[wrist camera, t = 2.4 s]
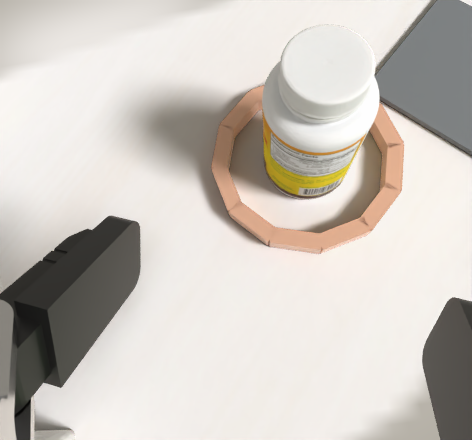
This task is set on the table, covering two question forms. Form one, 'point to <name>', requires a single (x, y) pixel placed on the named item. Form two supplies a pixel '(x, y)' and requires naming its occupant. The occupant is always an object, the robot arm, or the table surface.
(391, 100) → the mat
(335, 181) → the supplement bottle
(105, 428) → the table surface
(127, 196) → the table surface
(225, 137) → the faceted open ring
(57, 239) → the table surface
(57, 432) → the ink box
